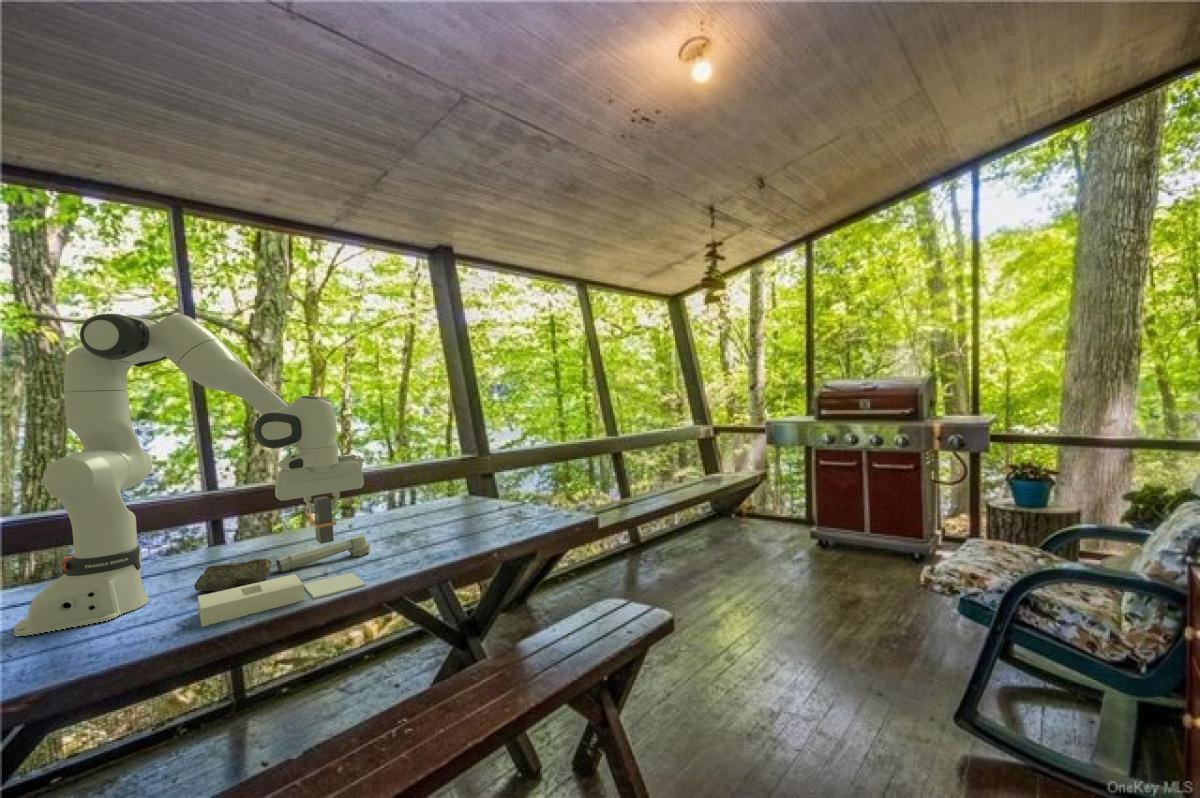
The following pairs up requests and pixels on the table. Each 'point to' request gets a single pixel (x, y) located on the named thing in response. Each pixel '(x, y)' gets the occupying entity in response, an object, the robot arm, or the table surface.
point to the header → (249, 599)
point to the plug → (323, 520)
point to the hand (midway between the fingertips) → (323, 511)
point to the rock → (233, 575)
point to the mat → (333, 585)
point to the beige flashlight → (324, 553)
